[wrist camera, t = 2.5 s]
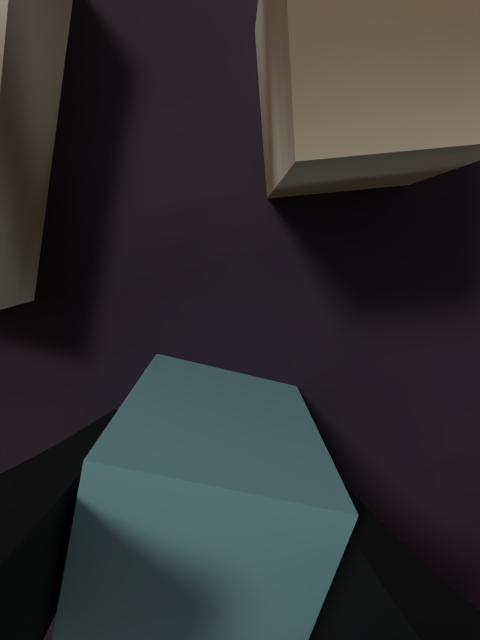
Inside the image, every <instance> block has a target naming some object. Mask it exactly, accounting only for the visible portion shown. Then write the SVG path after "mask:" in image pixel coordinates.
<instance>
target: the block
mask: <svg viewBox="0 0 480 640" xmlns="http://www.w3.org/2000/svg"><path fill="white" fill-rule="evenodd" d="M255 36H256V50H257V64H258V78H259V92H260V106H261V120H262V134H263V148H264V162H265V176H266V190H267V199H268V198H278V197H288V196H299V195H309V194H320V193H330V192H340V191H351V190H361V189H372V188H382V187H392V186H403V185H411V184H413V183H416V182H419V181H422V180H425V179H428V178H431V177H434V176H436V175H439V174H442V173H445V172H448V171H451V170H454V169H456V168H459V167H462V166H465V165H468V164H471V163H474V162H477V161H479V160H480V0H258V9H257V17H256V26H255Z"/></svg>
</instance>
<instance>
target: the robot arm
mask: <svg viewBox="0 0 480 640" xmlns="http://www.w3.org/2000/svg"><path fill="white" fill-rule="evenodd" d="M117 411H118V410H115V409H114V410H113V411H111V412H109V413H108V414H106V415H104V416H103V417H101V418H99V419H98V420H96V421H95V422H93V423H91V424H90V425H88V426H87V427H85V428H83V429H82V430H80V431H78V432H77V433H75V434H73V435H72V436H70V437H68V438H67V439H65V440H63V441H61V442H60V443H58V444H56V445H55V446H53V447H51V448H49V449H48V450H46V451H44V452H42V453H40V454H38V455H36V456H34V457H32V458H31V459H29V460H27V461H25V462H23V463H21V464H19V465H17V466H15V467H13V468H11V469H9V470H7V471H5V472H3V473H1V474H0V640H43V639H44V637H45V635H46V633H47V631H48V629H49V627H50V624H51V622H52V620H53V618H54V616H55V614H56V612H57V608H58V602H59V596H60V591H61V585H62V579H63V574H64V568H65V562H66V557H67V551H68V545H69V540H70V534H71V529H72V523H73V517H74V512H75V506H76V500H77V495H78V489H79V483H80V478H81V472H82V466H83V461H84V459H85V457H86V456H87V455H88V453H89V452H90V450H91V449H92V447H93V446H94V444H95V443H96V441H97V440H98V439H99V437H100V436H101V434H102V433H103V431H104V430H105V428H106V427H107V425H108V424H109V422H110V421H111V420H112V418H113V417H114V415H115V414H116V412H117ZM344 486H345V485H344ZM345 488H346V490H347V492H348V494H349V496H350V498H351V501H352V503H353V505H354V507H355V509H356V511H357V513H358V515H359V516H358V518H357V521H356V523H355V526H354V528H353V531H352V533H351V536H350V538H349V541H348V543H347V546H346V548H345V551H344V553H343V556H342V558H341V560H340V563H339V565H338V568H337V570H336V573H335V575H334V578H333V580H332V583H331V585H330V588H329V590H328V593H327V595H326V598H325V600H324V602H323V605H322V607H321V610H320V612H319V615H318V617H317V620H316V622H315V625H314V627H313V630H312V632H311V635H310V637H309V640H480V611H479V610H478V609H477V608H475V607H474V606H473V605H471V604H470V603H469V602H468V601H467V600H465V599H464V598H463V597H462V596H460V595H459V594H458V593H457V592H456V591H454V590H453V589H452V588H451V587H450V586H448V585H447V584H446V583H445V582H444V581H443V580H442V579H440V578H439V577H438V576H437V575H436V574H435V573H434V572H432V571H431V570H430V569H429V568H428V567H427V566H426V565H424V564H423V563H422V562H421V561H420V560H419V559H418V558H417V557H415V556H414V555H413V554H412V553H411V552H410V551H409V550H408V549H407V548H406V547H405V546H404V545H403V544H402V543H401V542H400V541H399V540H398V539H396V538H395V537H394V536H393V535H392V534H391V533H390V532H389V531H388V530H387V529H386V528H385V527H384V526H383V525H382V524H381V523H380V522H379V521H378V520H377V519H376V518H375V517H374V516H373V515H372V514H371V513H370V512H369V510H368V509H367V508H366V507H365V506H364V505H363V504H362V503H361V502H360V501H359V500H358V499H357V498H356V497H355V496H354V495H353V493H352V492H351V491H350V490H349V489H348V488H347V487H346V486H345Z"/></svg>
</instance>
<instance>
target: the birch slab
mask: <svg viewBox="0 0 480 640" xmlns="http://www.w3.org/2000/svg"><path fill="white" fill-rule="evenodd" d="M72 2H73V0H0V310H1V309H5V308H9V307H12V306H16V305H20V304H23V303H27V302H30V301H34V297H35V289H36V282H37V274H38V266H39V258H40V250H41V243H42V235H43V227H44V219H45V212H46V204H47V196H48V188H49V181H50V173H51V165H52V157H53V150H54V142H55V134H56V126H57V119H58V111H59V103H60V95H61V88H62V80H63V72H64V64H65V57H66V49H67V41H68V33H69V25H70V18H71V10H72Z"/></svg>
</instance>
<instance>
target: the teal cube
mask: <svg viewBox="0 0 480 640" xmlns="http://www.w3.org/2000/svg"><path fill="white" fill-rule="evenodd" d="M358 516H359V515H358V513H357V511H356V509H355V507H354V505H353V503H352V501H351V498H350V496H349V494H348V492H347V490H346V488H345V486H344V484H343V482H342V480H341V478H340V475H339V473H338V471H337V469H336V467H335V465H334V463H333V461H332V459H331V457H330V455H329V453H328V450H327V448H326V446H325V444H324V442H323V440H322V438H321V436H320V434H319V432H318V430H317V427H316V425H315V423H314V421H313V419H312V417H311V415H310V413H309V411H308V409H307V407H306V404H305V402H304V400H303V398H302V396H301V394H300V392H299V390H298V388H297V386H293V385H289V384H284V383H280V382H276V381H271V380H267V379H263V378H259V377H254V376H250V375H246V374H242V373H237V372H233V371H229V370H224V369H220V368H216V367H212V366H207V365H203V364H199V363H194V362H190V361H186V360H182V359H177V358H173V357H169V356H165V355H160V354H156V355H155V357H154V358H153V360H152V361H151V363H150V364H149V366H148V367H147V369H146V370H145V372H144V373H143V374H142V376H141V377H140V379H139V380H138V382H137V383H136V385H135V386H134V388H133V389H132V390H131V392H130V393H129V395H128V396H127V398H126V399H125V401H124V402H123V404H122V405H121V406H120V408H119V409H118V411H117V412H116V414H115V415H114V417H113V418H112V420H111V421H110V422H109V424H108V425H107V427H106V428H105V430H104V431H103V433H102V434H101V436H100V437H99V439H98V440H97V441H96V443H95V444H94V446H93V447H92V449H91V450H90V452H89V453H88V455H87V456H86V457H85V459H84V461H83V466H82V472H81V478H80V483H79V489H78V495H77V500H76V506H75V512H74V517H73V523H72V529H71V534H70V540H69V545H68V551H67V557H66V562H65V568H64V574H63V579H62V585H61V591H60V596H59V602H58V608H57V613H56V619H55V625H54V630H53V636H52V640H309V637H310V635H311V632H312V630H313V627H314V625H315V622H316V620H317V617H318V615H319V612H320V610H321V607H322V605H323V602H324V600H325V598H326V595H327V593H328V590H329V588H330V585H331V583H332V580H333V578H334V575H335V573H336V570H337V568H338V565H339V563H340V560H341V558H342V556H343V553H344V551H345V548H346V546H347V543H348V541H349V538H350V536H351V533H352V531H353V528H354V526H355V523H356V521H357V518H358Z"/></svg>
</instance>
